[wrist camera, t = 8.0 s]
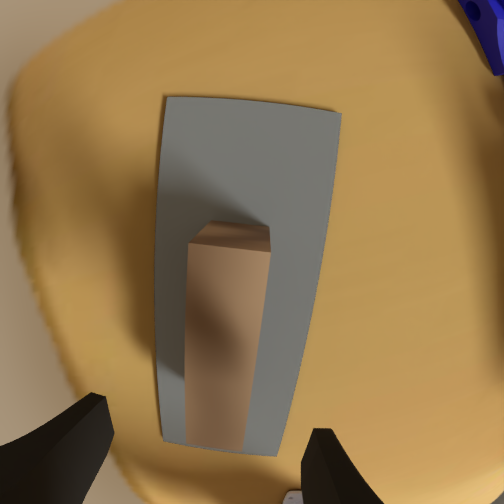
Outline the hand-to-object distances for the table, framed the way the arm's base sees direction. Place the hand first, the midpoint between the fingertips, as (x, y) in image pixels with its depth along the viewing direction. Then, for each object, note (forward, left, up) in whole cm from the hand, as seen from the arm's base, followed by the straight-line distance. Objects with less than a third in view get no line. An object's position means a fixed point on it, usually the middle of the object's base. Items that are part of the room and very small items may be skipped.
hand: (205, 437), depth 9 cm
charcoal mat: (0, 0, -9) cm, 9 cm away
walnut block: (0, 0, -9) cm, 9 cm away
